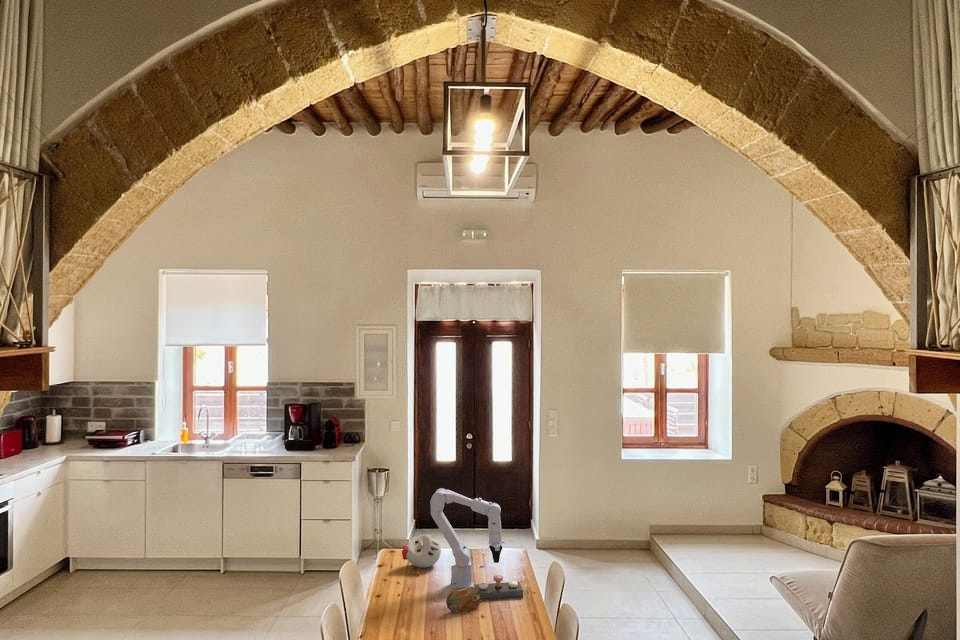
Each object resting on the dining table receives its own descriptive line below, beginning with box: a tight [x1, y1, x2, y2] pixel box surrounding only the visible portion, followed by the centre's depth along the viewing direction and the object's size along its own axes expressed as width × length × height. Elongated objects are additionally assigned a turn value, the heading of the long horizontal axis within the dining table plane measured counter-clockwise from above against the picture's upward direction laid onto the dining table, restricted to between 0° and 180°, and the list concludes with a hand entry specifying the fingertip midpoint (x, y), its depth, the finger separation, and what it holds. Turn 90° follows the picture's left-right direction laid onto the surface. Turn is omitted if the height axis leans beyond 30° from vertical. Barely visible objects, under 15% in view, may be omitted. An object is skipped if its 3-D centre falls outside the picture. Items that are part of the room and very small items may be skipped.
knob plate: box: [473, 581, 524, 601], centre depth 282 cm, size 20×10×3 cm, turn 95°
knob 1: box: [478, 582, 489, 590], centre depth 281 cm, size 4×4×4 cm
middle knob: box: [493, 574, 504, 588], centre depth 282 cm, size 4×4×4 cm
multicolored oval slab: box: [445, 587, 482, 614], centre depth 267 cm, size 15×3×8 cm, turn 117°
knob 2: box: [508, 580, 519, 588], centre depth 283 cm, size 4×4×4 cm
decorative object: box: [401, 534, 442, 569], centre depth 319 cm, size 15×19×15 cm
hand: (496, 562), depth 292 cm, fingers closed
